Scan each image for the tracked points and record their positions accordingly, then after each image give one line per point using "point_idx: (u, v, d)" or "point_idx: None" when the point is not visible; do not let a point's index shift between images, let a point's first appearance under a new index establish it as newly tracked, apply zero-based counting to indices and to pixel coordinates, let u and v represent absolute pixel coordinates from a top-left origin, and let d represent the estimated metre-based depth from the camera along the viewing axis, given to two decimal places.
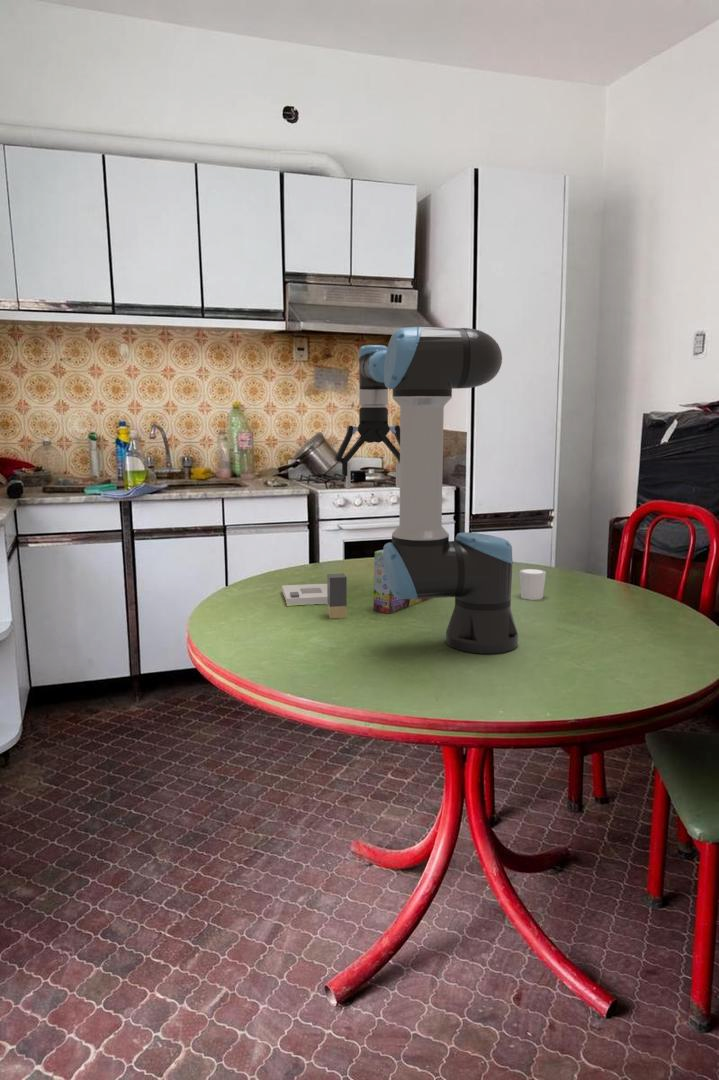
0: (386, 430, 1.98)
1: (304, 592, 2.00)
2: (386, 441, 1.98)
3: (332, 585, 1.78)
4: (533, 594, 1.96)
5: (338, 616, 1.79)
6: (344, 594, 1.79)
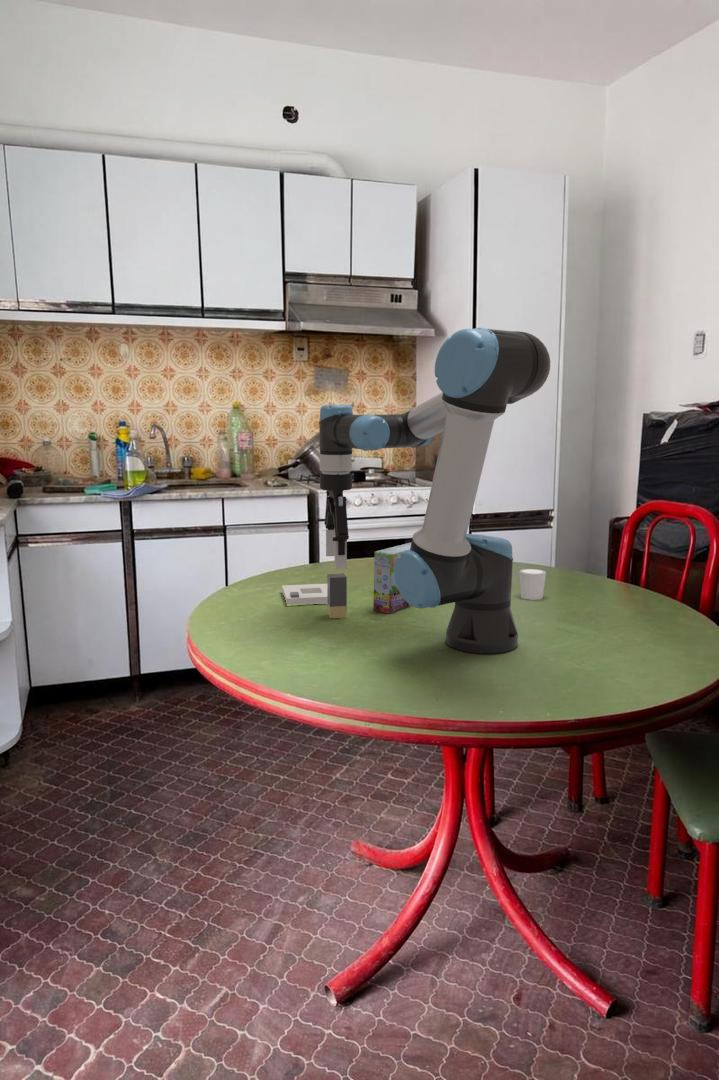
0: (333, 500, 1.73)
1: (304, 592, 2.00)
2: (330, 513, 1.74)
3: (332, 585, 1.78)
4: (533, 594, 1.96)
5: (338, 616, 1.79)
6: (344, 594, 1.79)
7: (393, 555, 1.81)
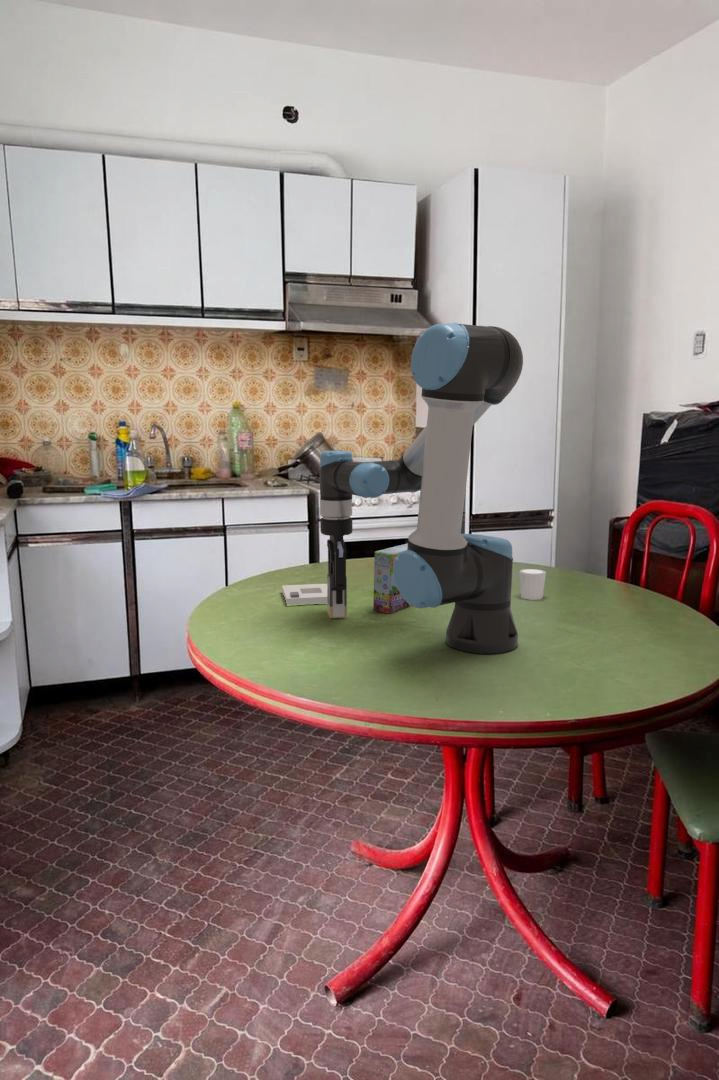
0: (333, 545, 1.75)
1: (304, 592, 2.00)
2: (330, 558, 1.77)
3: (332, 585, 1.78)
4: (533, 594, 1.96)
5: None
6: (344, 594, 1.79)
7: (393, 555, 1.81)
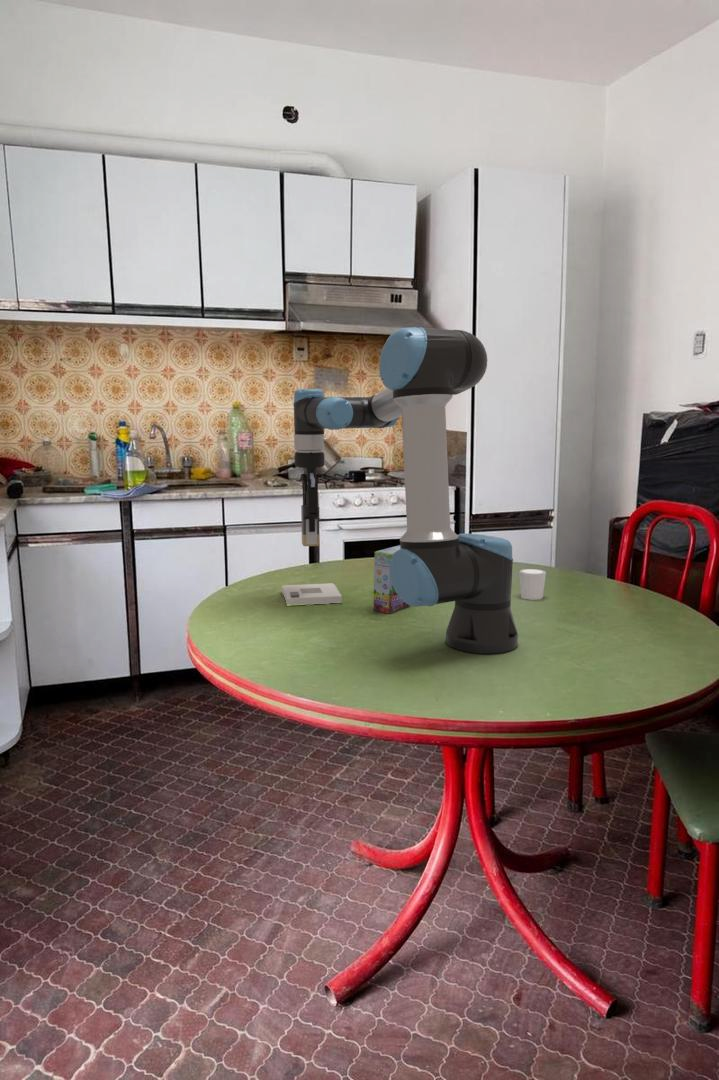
0: (306, 477, 1.89)
1: (304, 592, 2.00)
2: (304, 489, 1.91)
3: (305, 514, 1.92)
4: (533, 594, 1.96)
5: (311, 544, 1.93)
6: None
7: None
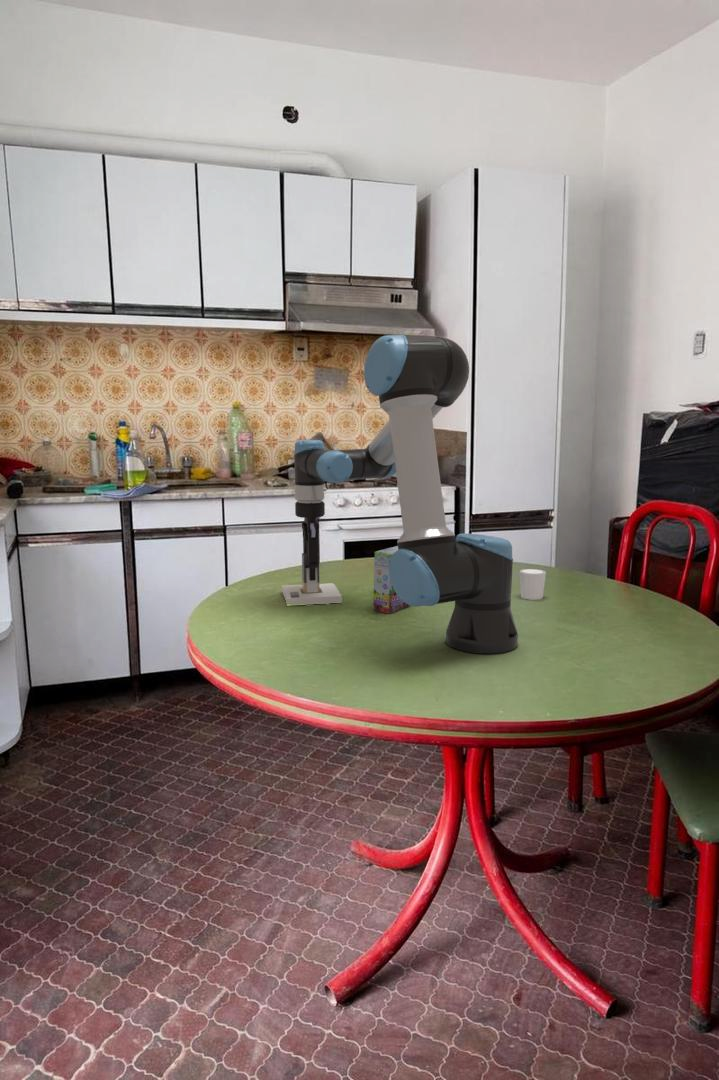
0: (307, 526, 1.92)
1: None
2: (304, 539, 1.93)
3: (305, 563, 1.94)
4: (533, 594, 1.96)
5: (311, 592, 1.96)
6: (317, 572, 1.95)
7: None
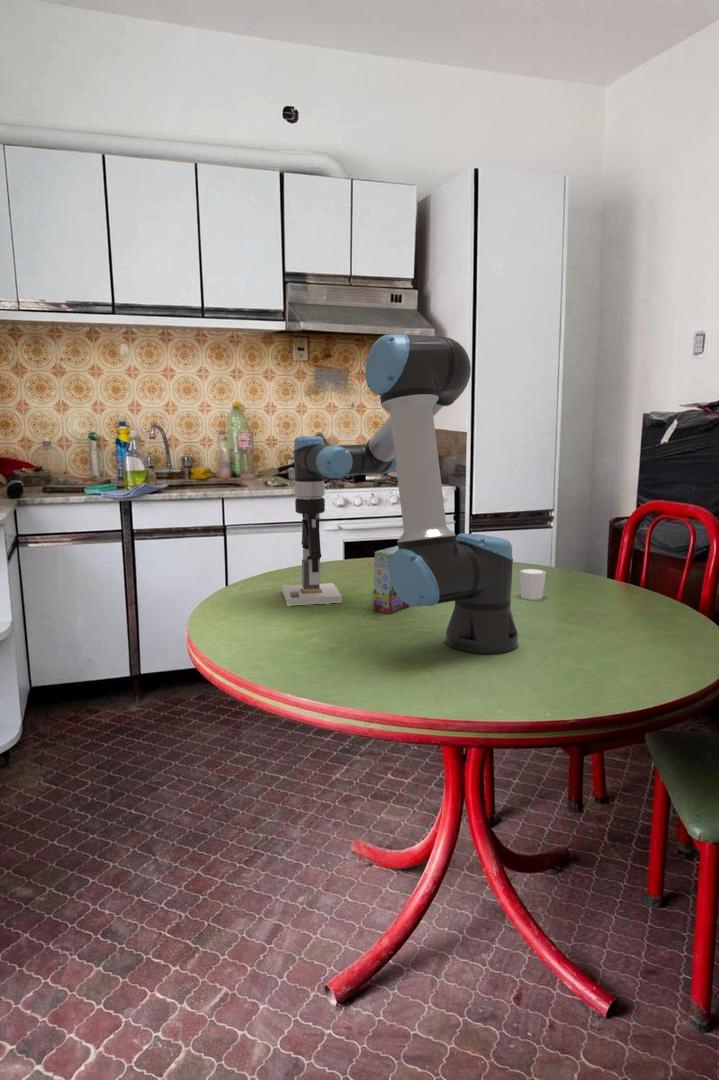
0: (307, 523, 1.91)
1: None
2: (305, 534, 1.92)
3: (305, 569, 1.95)
4: (533, 594, 1.96)
5: None
6: None
7: None
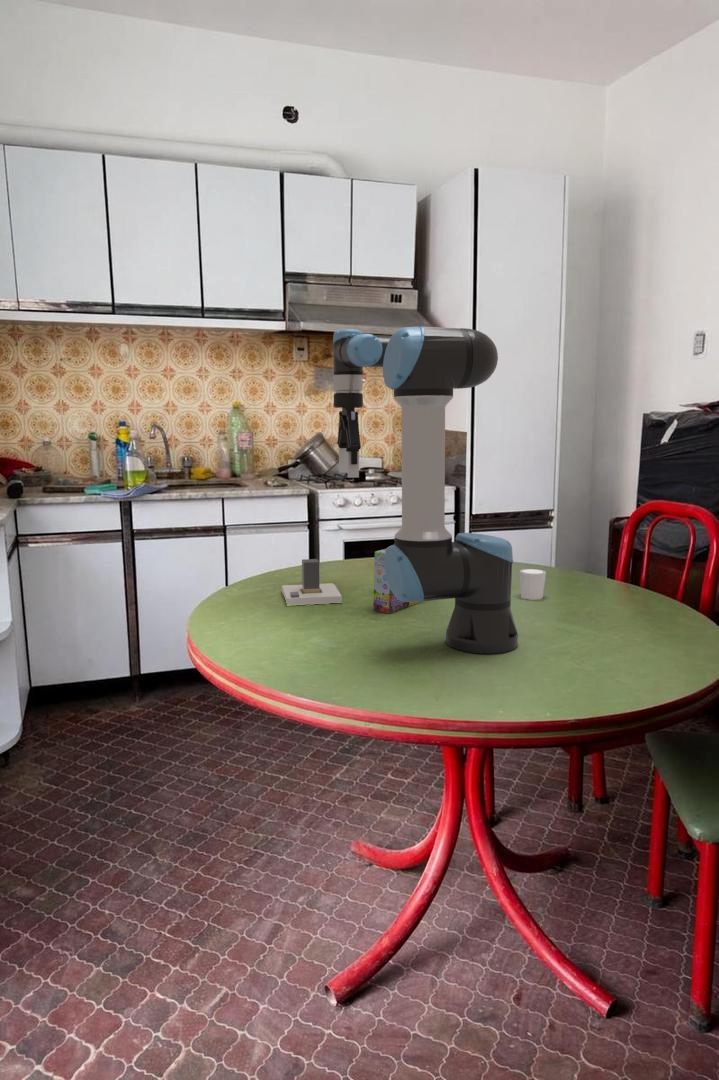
0: (346, 416, 1.92)
1: None
2: (344, 428, 1.93)
3: (305, 569, 1.95)
4: (533, 594, 1.96)
5: None
6: (317, 578, 1.95)
7: None
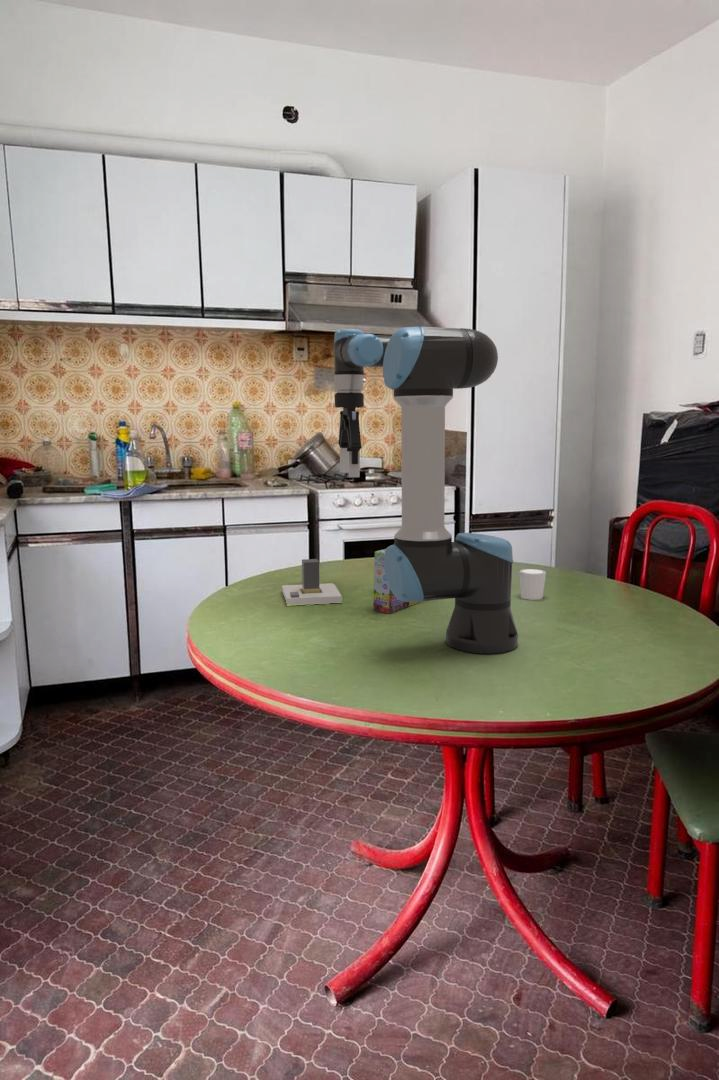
0: (347, 416, 1.92)
1: None
2: (344, 427, 1.93)
3: (305, 569, 1.95)
4: (533, 594, 1.96)
5: None
6: (317, 578, 1.95)
7: None
